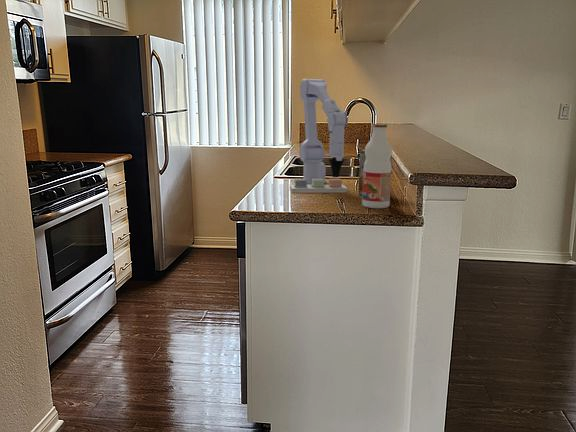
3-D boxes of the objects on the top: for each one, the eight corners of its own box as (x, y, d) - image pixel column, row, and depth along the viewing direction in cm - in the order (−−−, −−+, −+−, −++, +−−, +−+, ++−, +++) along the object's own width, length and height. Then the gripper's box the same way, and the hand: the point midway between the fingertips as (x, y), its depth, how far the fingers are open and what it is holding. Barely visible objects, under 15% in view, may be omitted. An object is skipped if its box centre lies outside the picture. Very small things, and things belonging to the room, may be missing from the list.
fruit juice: (392, 208, 174) (397, 124, 168) (365, 209, 173) (369, 124, 167) (385, 203, 183) (389, 123, 177) (359, 203, 182) (362, 123, 176)
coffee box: (385, 194, 200) (387, 153, 197) (380, 197, 195) (382, 154, 191) (363, 192, 204) (364, 151, 201) (357, 194, 199) (359, 153, 195)
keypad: (342, 188, 213) (342, 184, 213) (347, 192, 204) (347, 188, 203) (289, 188, 212) (289, 184, 211) (291, 192, 202) (291, 188, 202)
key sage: (322, 184, 210) (322, 178, 209) (324, 186, 205) (324, 180, 205) (311, 184, 209) (312, 178, 209) (313, 186, 205) (313, 180, 204)
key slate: (305, 184, 209) (305, 178, 208) (306, 186, 205) (306, 180, 204) (294, 184, 209) (294, 178, 208) (295, 186, 204) (295, 180, 204)
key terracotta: (339, 184, 210) (339, 178, 210) (341, 186, 206) (341, 180, 205) (328, 184, 210) (329, 178, 209) (330, 186, 206) (330, 180, 205)
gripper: (323, 141, 211) (323, 174, 214) (329, 144, 197) (328, 179, 200) (340, 141, 211) (339, 174, 214) (347, 144, 197) (346, 179, 200)
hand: (335, 176), depth 207 cm, fingers closed
